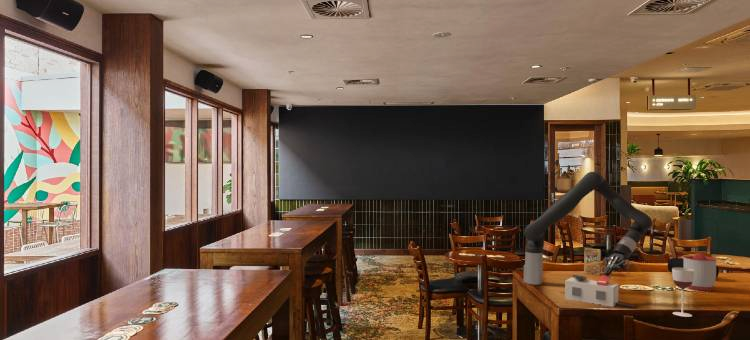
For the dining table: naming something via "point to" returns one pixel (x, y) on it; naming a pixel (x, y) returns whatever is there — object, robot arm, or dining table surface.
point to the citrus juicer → (701, 271)
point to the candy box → (592, 261)
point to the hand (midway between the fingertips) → (605, 274)
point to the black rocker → (579, 277)
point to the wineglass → (682, 284)
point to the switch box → (592, 292)
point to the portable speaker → (682, 264)
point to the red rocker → (603, 280)
